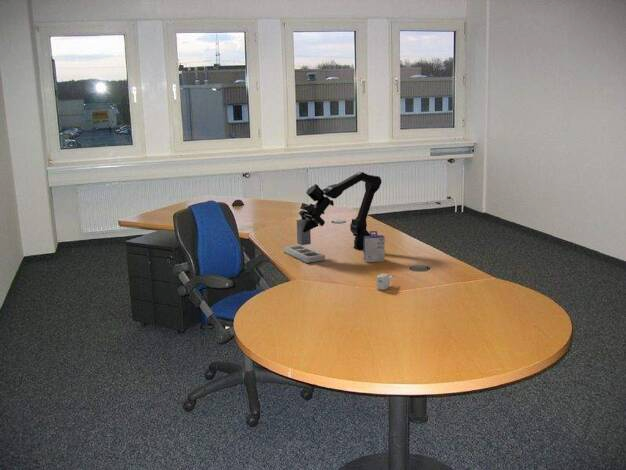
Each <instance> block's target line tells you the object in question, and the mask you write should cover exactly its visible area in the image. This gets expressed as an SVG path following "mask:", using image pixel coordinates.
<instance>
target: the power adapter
mask: <svg viewBox="0 0 626 470" xmlns="http://www.w3.org/2000/svg"><path fill="white" fill-rule="evenodd" d="M394 277H395V275H393V274H392V275H390V274H388V273H383V272H382V273H380V274H378V275H377V276H376V285H375V287H376V289H377V290H378V291H379V290H380V291H384V290H387V289H389V287H390V282H391V281H393V279H394Z"/></svg>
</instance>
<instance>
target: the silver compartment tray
mask: <svg viewBox="0 0 626 470" xmlns="http://www.w3.org/2000/svg"><path fill="white" fill-rule="evenodd" d="M283 249H284V254H286V255H288V256H290V257H292V258H294V259H296V260H298V261H300V262H302V263H304V264H306V265H310V264H316V263H321V262H322V263H323V262H326V254H324V253H321V252H319V251H317V250H314V249H313V248H310V247H307V245H300V244H296V245H291V246H285V247H284V248H283Z"/></svg>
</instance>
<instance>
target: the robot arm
mask: <svg viewBox="0 0 626 470" xmlns="http://www.w3.org/2000/svg"><path fill="white" fill-rule="evenodd" d="M382 181H383V180H382V179H381V176H377V175H372V174H367V173H366V172H362V171H357V172H356V173H354V174H353V175H351V176H349V177H348V178H346V179H344V180H342V181H341V182H338V183H335V184H331V185H328V186H326V187H324V188H323V189H321V187H320V186H319V185H318V184H315V183H314V184H313V185H312V186H310V187H309V188H308V189H307V190H306V195H307V196H308V197H309V198H310V199H311V200H313V202H315V204H313V203H308V204H307V203H305V202H302V203H301V205H300V208H299V209H300V211H299V212H298V215H299V216H300V217H301V219H307V220H309V222H308V224H307V225H306V227H305V228H304V230H303V232H304V233H305V232H307V231H309V230H310V231H312V230H313V229H315V228H317V227H324V225H325V223H326V222H325V220H324V219H323V217H321V216H322V215H325V213H326V210H327V208H328V207H329V206H331V207H333V206H334V205H335V203H334V200H332V199H337V198H338V197H340V196H342V194H343V192H344V191H346V190H348V189H349V188H350V187H353V186H354V185H356V184H359V183H360V182H364V187H365V188H364V189H365V192H364V195H363V198H362V200H361V205H360V207H359V211H358V214H357V216H356V218H352V219H351V223H350V225H349V227H350V228H349V230H350V232H351V233H352V235H353V237H354V241H353V249H356V250H359V251H364V236H370V231H368V230H367V226H368V224H367V218H368V215H369V212H370V209H371V207H372V201H374V200H373V199H374V197H375V193H377V192H378V191H379V189H380V187H381V185H382V183H383V182H382Z"/></svg>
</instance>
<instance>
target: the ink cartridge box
mask: <svg viewBox="0 0 626 470" xmlns="http://www.w3.org/2000/svg"><path fill="white" fill-rule="evenodd" d="M369 233H370V236H364V249H363V260H364V261H363V262H364V263H376V262H378V263H379V262H385V261H386V260H385V259H386V257H385V256H386V255H385V253H386V251H385V250H386V249H385V242H386V239H385V238H386V237H385V236H384V235H383V234H378V230H370V231H369Z"/></svg>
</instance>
